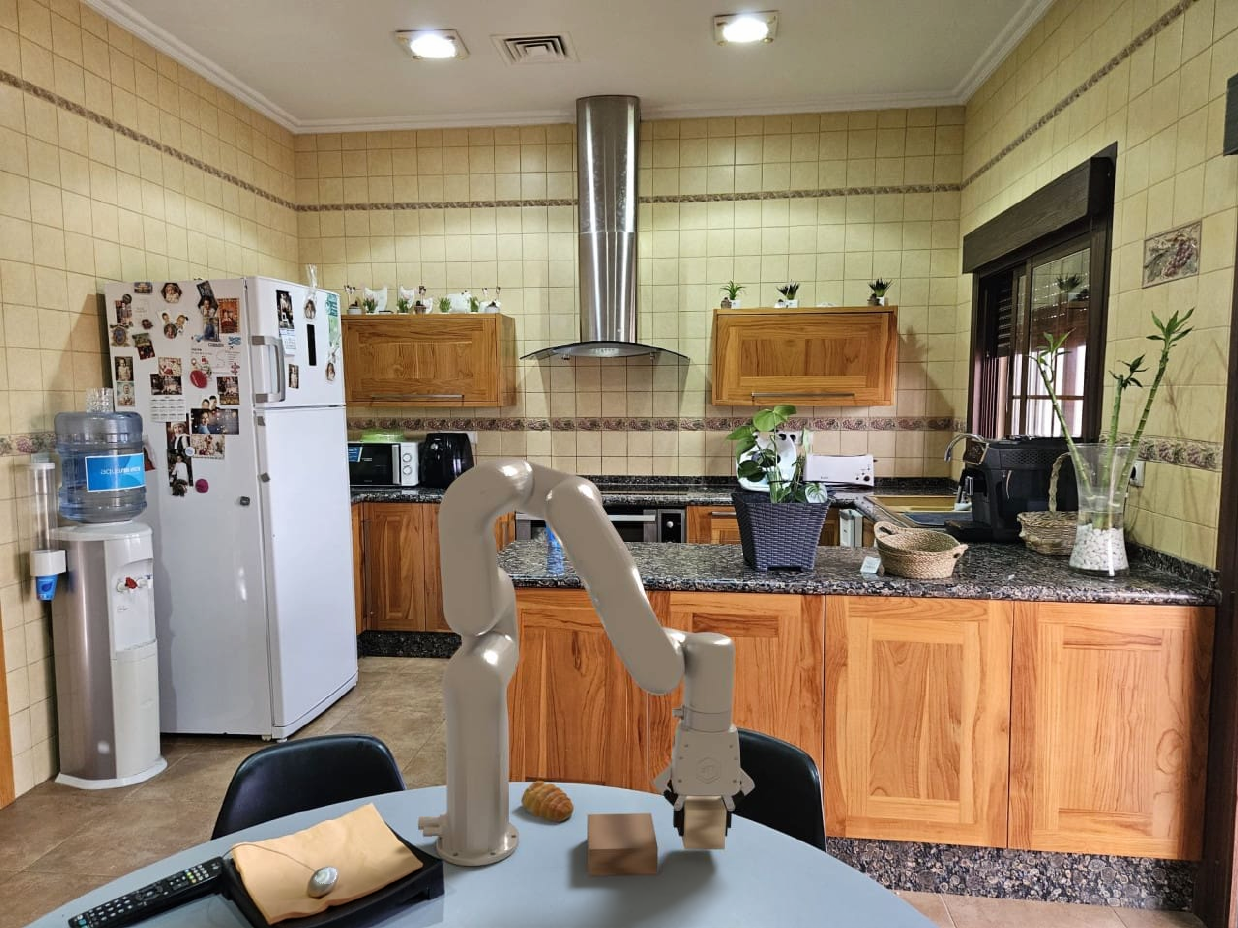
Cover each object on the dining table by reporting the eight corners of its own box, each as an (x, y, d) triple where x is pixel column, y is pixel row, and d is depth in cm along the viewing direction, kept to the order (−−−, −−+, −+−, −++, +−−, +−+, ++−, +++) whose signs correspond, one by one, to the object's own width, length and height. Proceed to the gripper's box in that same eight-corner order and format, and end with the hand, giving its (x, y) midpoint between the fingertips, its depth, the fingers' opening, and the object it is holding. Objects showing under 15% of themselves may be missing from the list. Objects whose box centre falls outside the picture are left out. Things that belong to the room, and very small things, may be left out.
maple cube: (684, 849, 118) (686, 809, 117) (679, 827, 124) (680, 790, 123) (724, 849, 118) (726, 810, 118) (717, 828, 124) (719, 790, 124)
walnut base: (588, 875, 115) (588, 848, 115) (587, 838, 125) (587, 814, 125) (657, 874, 116) (657, 847, 115) (650, 837, 125) (651, 812, 125)
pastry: (583, 813, 133) (583, 791, 133) (554, 829, 128) (554, 806, 128) (545, 795, 139) (545, 774, 139) (516, 809, 134) (516, 787, 134)
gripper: (652, 725, 115) (647, 844, 117) (769, 726, 116) (763, 845, 118) (647, 706, 123) (643, 818, 124) (757, 707, 124) (752, 819, 125)
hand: (701, 830), depth 121 cm, fingers closed on maple cube, 6 cm apart
